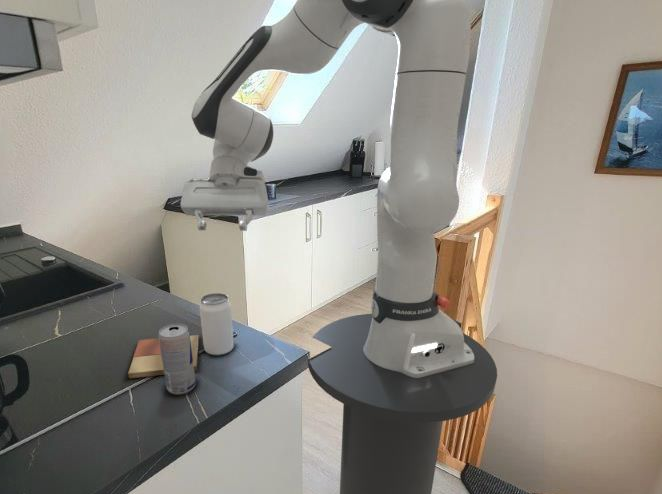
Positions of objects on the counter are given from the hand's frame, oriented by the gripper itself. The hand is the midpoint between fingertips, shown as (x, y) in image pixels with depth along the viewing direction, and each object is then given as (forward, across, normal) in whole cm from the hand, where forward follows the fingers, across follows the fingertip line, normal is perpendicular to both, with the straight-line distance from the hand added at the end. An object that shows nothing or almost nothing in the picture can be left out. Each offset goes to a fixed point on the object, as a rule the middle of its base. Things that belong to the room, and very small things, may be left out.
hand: (222, 229), depth 91 cm
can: (+26, 0, +8) cm, 27 cm away
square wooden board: (+28, -10, +5) cm, 30 cm away
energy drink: (+35, -4, -2) cm, 36 cm away
